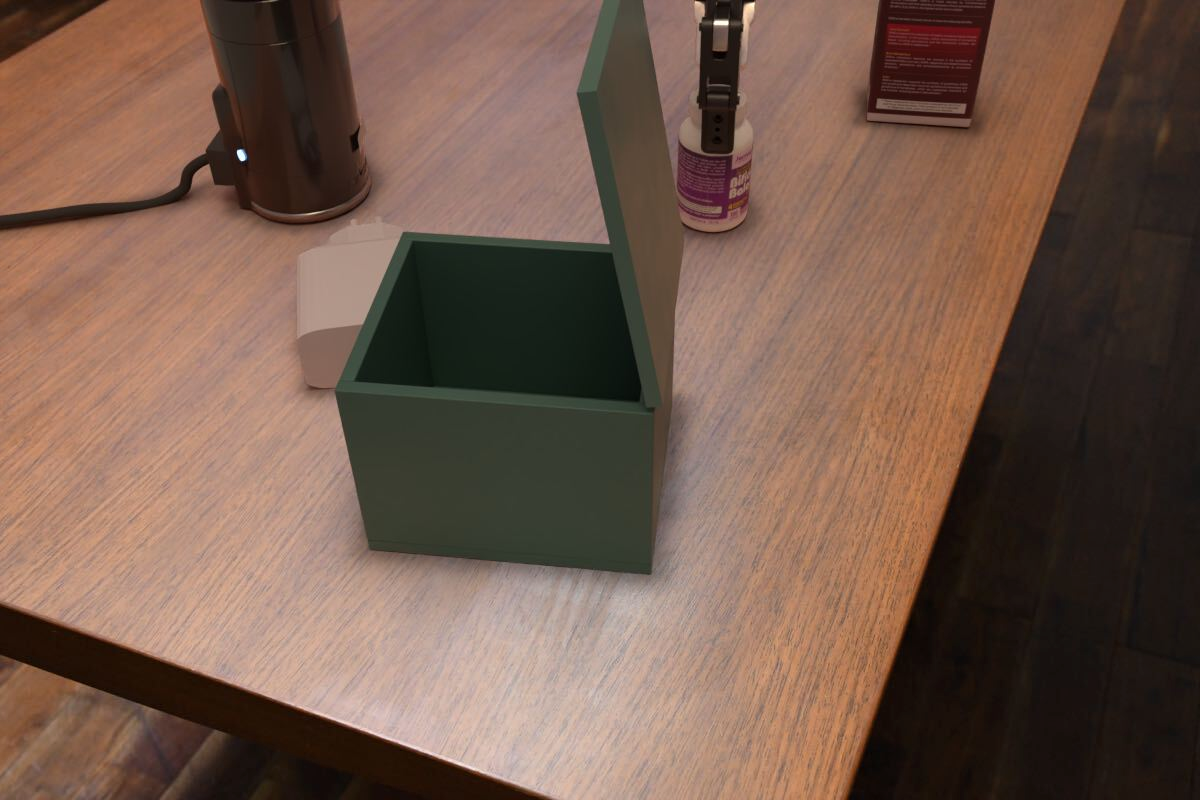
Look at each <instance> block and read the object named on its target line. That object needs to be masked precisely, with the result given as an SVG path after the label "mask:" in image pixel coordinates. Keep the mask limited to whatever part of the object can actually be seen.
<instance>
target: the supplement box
mask: <svg viewBox="0 0 1200 800" xmlns="http://www.w3.org/2000/svg"><path fill="white" fill-rule="evenodd" d="M995 4H996V0H878V6H877V14H876V21H875V28H874V29H875V30H874V37H873V42H872V43H873V44H872V51H871V58H870V68H869V72H868V73H869V74H868V82H867V89H866V121H867V122H882V123H898V124H914V125H930V126H931V125H932V126H942V127H943V126H944V127H958V128H969V127H970V126H971V123H972V118H973V114H974V110H975V105H976V100H977V95H978V90H979V86H980V81H981V75H982V70H983V65H984V60H985V55H986V50H987V45H988V40H989V35H990V30H991V24H992V19H993V15H994V9H995Z"/></svg>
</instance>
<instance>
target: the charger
mask: <svg viewBox="0 0 1200 800" xmlns="http://www.w3.org/2000/svg"><path fill="white" fill-rule="evenodd" d="M373 219H374V222H372V223H362V224H359V222H358V219H356V218H352V219H350V220H349V223H350V224H349V225H347V226H345V227H343V228H342V229H340V230H339V231H338V230H337V232H335V233H333V234H332V235H330V236H329V237H328V239H327V240H325V244H322V245H317V246H315V247H313V248H310V249H308V250H306V251H304V252H302V253H300V254H299V255H298V256H297V257H296V261H295V263H296V264H295V265H296V270H295V271H296V274H295V275H296V276H295V277H296V281H295V282H296V283H295V284H296V292H295V293H296V296H295V297H296V310H295V311H296V312H295V313H296V315H295V317H296V319H295V320H296V321H295V323H296V327H295V329H296V331H295V332H296V334H295V335H296V338H295V339H296V342H295V343H296V344H295V345H296V348H297V351H298V357H299V361H300V365H301V369H302V372H303V376H304V382H305V383H306V384H307V385H308V386H311V387H314V388H318V389H335V388H336V386H337V383H338V381H339V379H340V377H341V374H342V372H343V370H344V367H345V365H346V363H347V360H348V358H349V356H350V353H351V351H352V349H353V346H354V344H355V342H356V339H357V337H358V335H359V333H360V330H361V328H362V326H363V323H364V321H365V319H366V316H367V314H368V312H369V309H370V307H371V305H372V302H373V300H374V298H375V295H376V293H377V291H378V288H379V286H380V284H381V281H382V279H383V277H384V274H385V272H386V270H387V268H388V265H389V263H390V261H391V258H392V256H393V254H394V251H395V249H396V247H397V244H398V242H399V240H400V237H401V235H402V233H403V232H408V231H407V230H406V229H405V228H404V227H402V226H397V225H394V224H390V223H387V222H383V218H382V216H380V215H377V216H374V218H373Z"/></svg>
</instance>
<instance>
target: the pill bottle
mask: <svg viewBox="0 0 1200 800" xmlns="http://www.w3.org/2000/svg"><path fill="white" fill-rule="evenodd" d="M709 86H729V85H724V84H712V85H709ZM698 91H699V87H697V88H696V89H694V90H693V91H692V92H691V93H690V95H689V99H688V101H689V103H688V115H689V116H688V117H686V118H685V119H684V120H683V122H682V123H681V125H680V127H679V130H678V138H677V139H678V140H677V141H678V142H677V177H676V178H677V179H676V194H677V199H678V205H679V211H680V217H681V222H682V224H685V225H686V226H688V227H689V228H691V229H694V230H697V231H701V232H705V233H707V232H708V233H718V232H719V233H721V232H724V231H728V230H731V229H734V228H735V227H737V226H739V225H740V224H741V223H742V222H743V221H745V218H746V217H747V215H748V214H747V213H748V208H749V198H750V187H751V175H752V163H753V150H754V140H755V138H754V137H755V136H754V135H755V134H754V129H753V126H752V125H751V122H750V121H749V120H748V119H747V118H746V116H747V104H748V98H747V95H746V93H745V92H744V91H742V89H740V88H738V92H740V101H739V105H737V111H736V115H735V135H734V149H733V151H732V152H731V153H730V154H707V153H704V152H703V151H702V150H701V124H702V109H699V108H698V106H699V103H698V104H697V96H698Z"/></svg>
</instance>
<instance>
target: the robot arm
mask: <svg viewBox="0 0 1200 800" xmlns="http://www.w3.org/2000/svg"><path fill="white" fill-rule="evenodd" d="M199 3H200V7H201V11H202V15H203V20H204V24H205V27H206V31H207V36H208V39H209V43H210V47H211V52H212V55H213V59H214V63H215V64H214V65H215V67H216V71H217V76H218V79H219V83H218V84H217V85H216V87H215V88H214V89H213V91H212V93H211V100H212V104H213V108H214V113H215V116H216V120H217V124H218V128H219V130H218V131H217V132H216V134H215V136H214V137H213V138H212V139H211V141H210V143H209V144H208V145H207V147H206V148H205V150H204V151H205V153H203V154H201V155H199V156H197V157H194V158H193V159H191V161H190V162H188V163H187V164H186V165H185V166H184V167H183V169H182V171H181V175H180V180H179V183H178V186H176V187H175V188H173V189H172V190H170V191H168V192H167V193H164V194H162V195H160V196H157V197H153V198H149V199H144V200H137V201H136V200H135V201H122V202H121V201H120V202H118V201H117V202H93V203H82V204H73V205H68V206H61V207H54V208H47V209H40V210H34V211H26V212H18V213H10V214H9V213H8V214H2V215H0V228H2V227H11V226H19V225H26V224H27V225H29V224H34V223H41V222H49V221H55V220H63V219H68V218H76V217H82V216H95V215H114V214H127V213H131V212H138V211H144V210H148V209H153V208H158V207H163V206H167V205H170V204H173V203H176V202H177V201H179V200H180V199H183V197H185V196H187V194H188V193H189V192H190V190H191V188H192V185H193V179H194V176H195V175H196V173H197V172H198V171H199V170H200V169H202V168H204V167H206V166H209V169H210V173H211V177H212V180H213V185H215V186H224V187H225V186H226V187H234V190H235V194H236V199H237V202H238V206H239V208H240V209H250V210H253V211H254V212H255V213H257V214H258V215H260V216H262V217H263V218H266V219H268V220H272V221H277V222H280V223H281V222H282V223H290V224H301V223H302V224H304V223H314V222H321V221H324V220H329V219H331V218H334V217H337V216H340V215H343V214H344V213H346V212H348V211H350V210H352V209H354V208H355V207H356V206H357V205H359V204H360V203H361V202H363V200H364V199H365V198H366V197H367V195H368V194H369V192H370V190H371V185H372V180H371V174H370V170H369V167H368V160H367V155H366V151H365V146H364V142H365V136H366V132H367V129H366V124H365V123H366V122H365V118H364V117H365V116H362V117H361V121H360V116H359V110H358V106H357V105H358V102H357V97H356V93H355V86H354V80H353V75H352V74H353V73H352V69H351V61H350V56H349V51H348V45H347V39H346V33H345V32H346V31H345V27H344V20H343V15H342V9H341V4H340V0H199ZM756 3H757V0H693V14H692V15H693V19H694V22H695V25H696V29H695V46H694V47H695V48H694V50H695V51H694V61H695V65H696V67H697V68H698V69H699V80H698V88H699V91H698V96H697V104H698V103H699V106H698V108H699V109H702V124H701V150H702V151H703V152H704V153H707V154H730V153H731V152H732V151H733V149H734V135H735V115H736V111H737V105H739V101H740V92H738V89H740V79H741V78H740V77H741V72H742V71H743V70H745V69H746V68H747V67H748V65H749V64H748V63H749V53H750V52H749V50H750V34H751V27H752V26H753V25H754V23H755V17H756ZM712 84H724V85H729V86H709V85H712Z"/></svg>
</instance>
